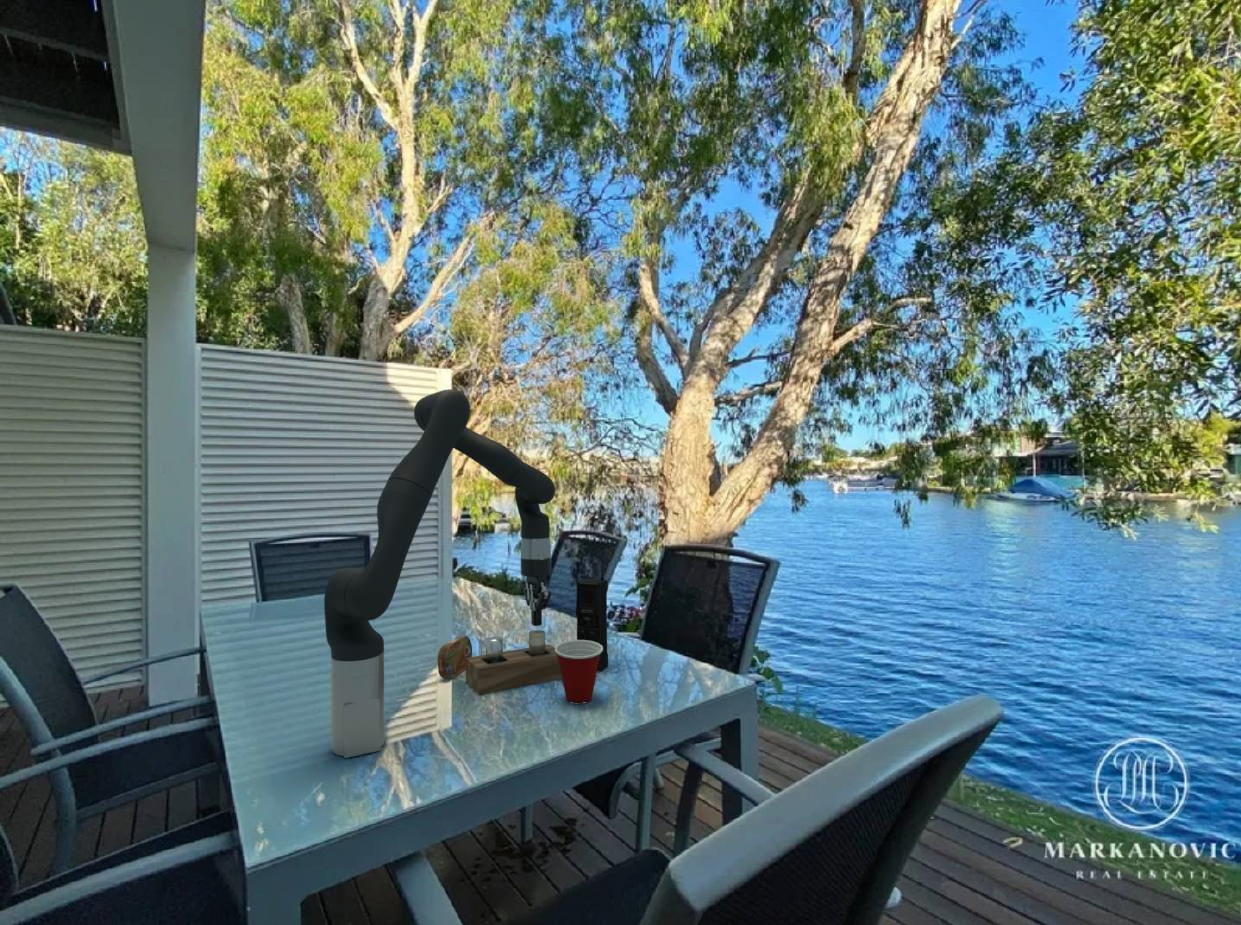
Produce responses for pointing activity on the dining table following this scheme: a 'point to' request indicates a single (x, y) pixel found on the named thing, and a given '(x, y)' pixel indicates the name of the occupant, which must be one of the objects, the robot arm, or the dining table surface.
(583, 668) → the plastic cup
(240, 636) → the dining table surface
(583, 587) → the portable radio
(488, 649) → the steel peg
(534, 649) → the birch peg
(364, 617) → the robot arm
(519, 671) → the collar block
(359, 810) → the dining table surface
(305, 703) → the dining table surface
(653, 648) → the dining table surface
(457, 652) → the tin
